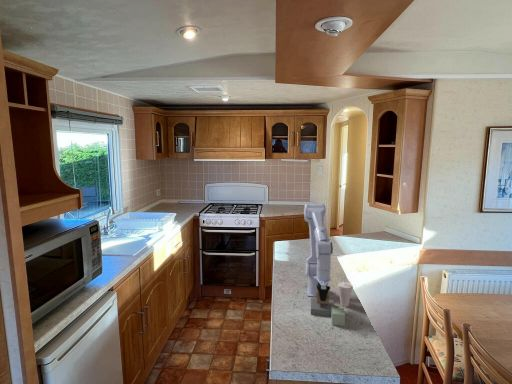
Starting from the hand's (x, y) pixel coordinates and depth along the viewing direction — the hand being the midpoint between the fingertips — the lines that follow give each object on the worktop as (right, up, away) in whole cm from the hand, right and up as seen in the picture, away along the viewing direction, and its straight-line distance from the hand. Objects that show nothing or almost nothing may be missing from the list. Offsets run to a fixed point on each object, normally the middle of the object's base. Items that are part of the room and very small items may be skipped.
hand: (322, 297), depth 138 cm
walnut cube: (0, -2, 0) cm, 2 cm away
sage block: (+4, -7, -9) cm, 12 cm away
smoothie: (+11, -5, +5) cm, 13 cm away
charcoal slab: (0, -6, +1) cm, 6 cm away
